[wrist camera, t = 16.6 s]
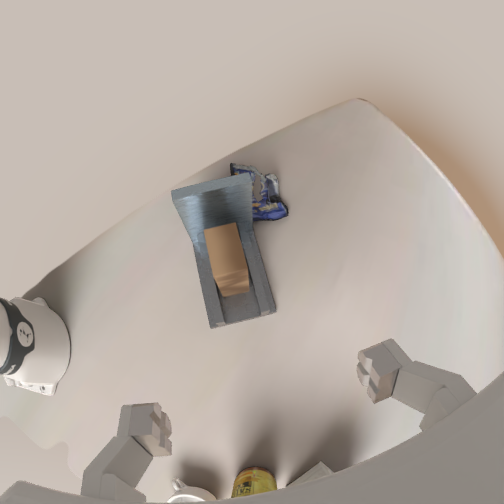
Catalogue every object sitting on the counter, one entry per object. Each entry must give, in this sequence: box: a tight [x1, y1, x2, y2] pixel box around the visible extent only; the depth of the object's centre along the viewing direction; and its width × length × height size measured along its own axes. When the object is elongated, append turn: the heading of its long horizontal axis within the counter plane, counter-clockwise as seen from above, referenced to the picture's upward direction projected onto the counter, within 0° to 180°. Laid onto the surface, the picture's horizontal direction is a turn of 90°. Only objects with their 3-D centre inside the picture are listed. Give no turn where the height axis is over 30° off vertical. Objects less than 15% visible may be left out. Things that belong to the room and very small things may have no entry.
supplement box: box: [286, 461, 334, 487], centre depth 25 cm, size 7×7×13 cm
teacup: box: [167, 478, 216, 503], centre depth 28 cm, size 10×8×5 cm
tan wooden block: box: [204, 222, 249, 298], centre depth 38 cm, size 4×6×11 cm, turn 14°
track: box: [171, 172, 276, 329], centre depth 38 cm, size 10×16×14 cm, turn 14°
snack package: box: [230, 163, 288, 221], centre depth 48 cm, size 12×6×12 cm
